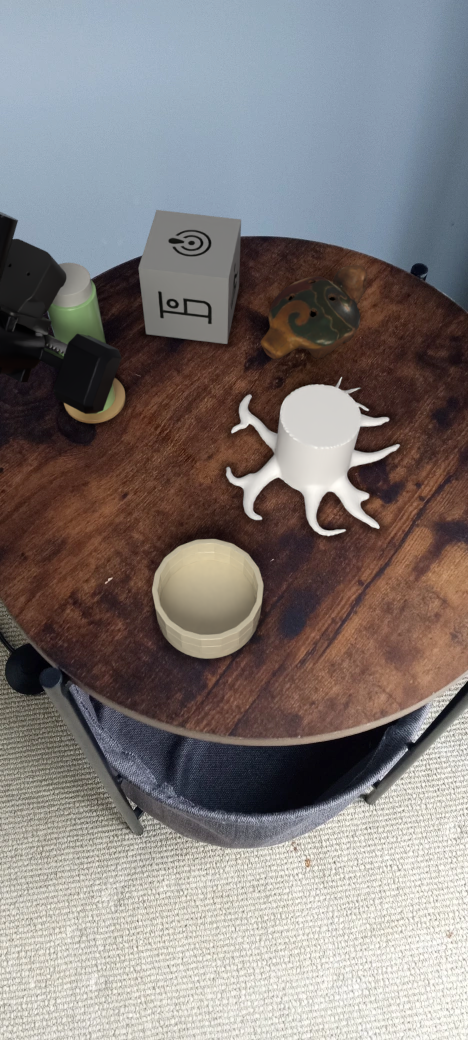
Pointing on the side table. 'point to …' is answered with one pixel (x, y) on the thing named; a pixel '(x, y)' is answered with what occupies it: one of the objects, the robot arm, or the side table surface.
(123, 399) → the coaster
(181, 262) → the icon cube
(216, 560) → the bowl
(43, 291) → the robot arm
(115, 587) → the side table surface
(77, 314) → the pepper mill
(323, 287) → the ocarina
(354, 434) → the tree stump
